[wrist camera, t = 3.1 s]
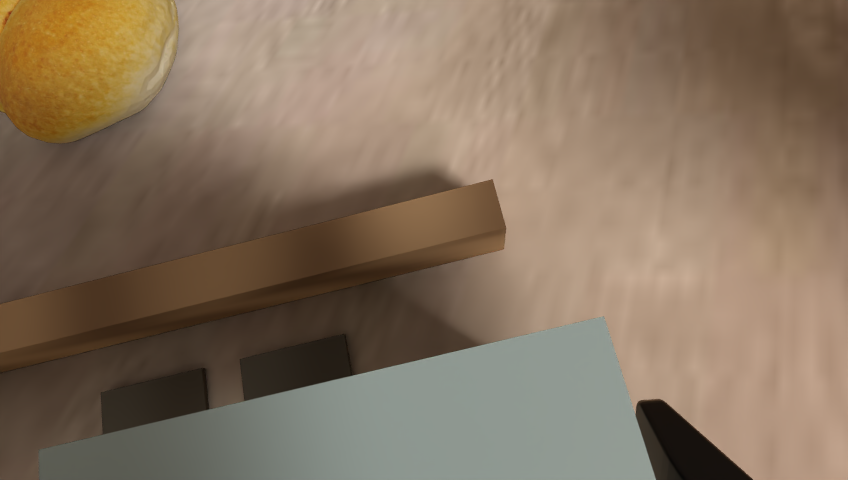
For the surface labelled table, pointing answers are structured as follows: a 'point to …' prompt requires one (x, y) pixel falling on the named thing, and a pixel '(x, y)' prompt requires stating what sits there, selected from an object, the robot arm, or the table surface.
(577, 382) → the blue-grey block
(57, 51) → the bread roll
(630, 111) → the table surface
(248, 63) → the table surface
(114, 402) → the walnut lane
